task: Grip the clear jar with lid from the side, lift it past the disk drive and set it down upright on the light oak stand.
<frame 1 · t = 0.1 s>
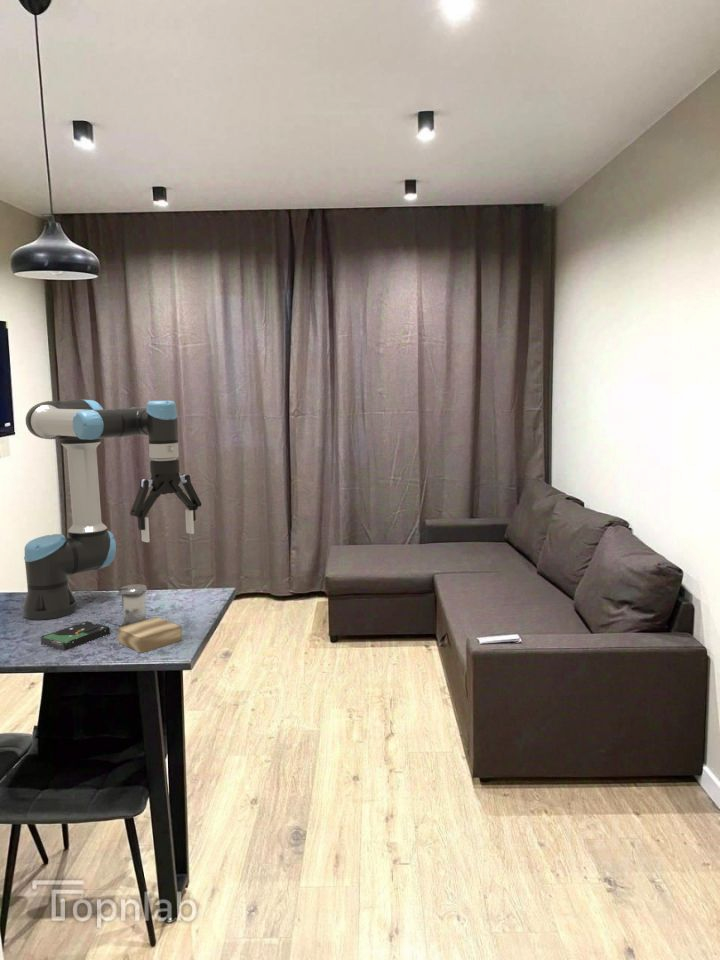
hand: (168, 537, 193), 28 cm above the table, tool pointing down, fingers open, 13 cm apart
disk drive: (76, 641, 197), on the table
stand: (150, 641, 194), on the table
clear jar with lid: (135, 623, 209), on the table
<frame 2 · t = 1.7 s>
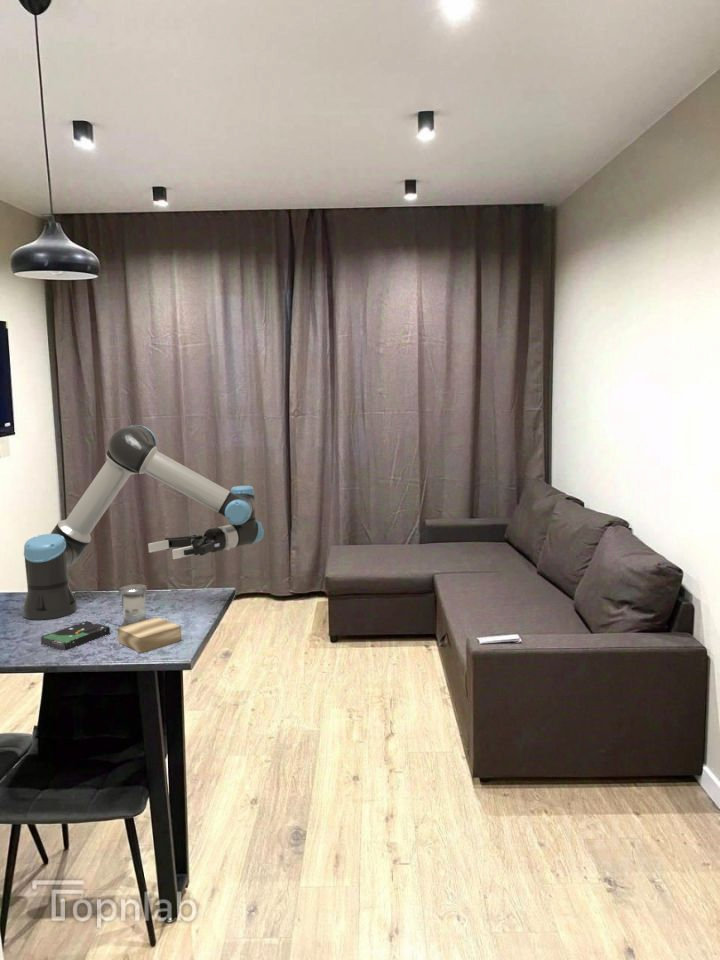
hand: (160, 551, 213), 20 cm above the table, tool horizontal, fingers open, 13 cm apart
nothing on the table moved.
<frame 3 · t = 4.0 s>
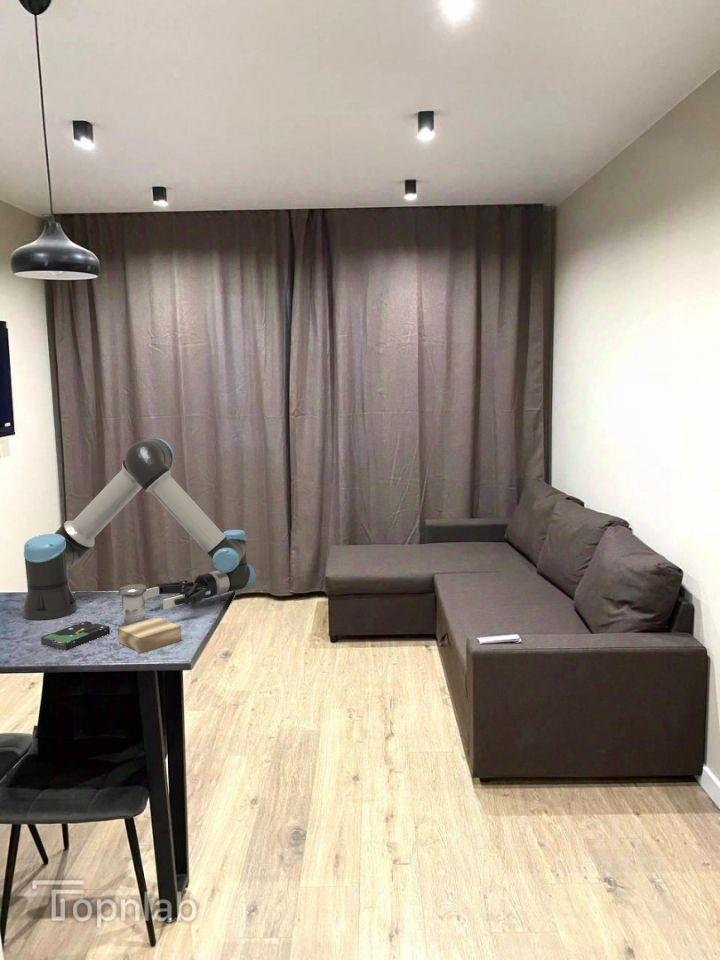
hand: (151, 600, 212), 6 cm above the table, tool horizontal, fingers open, 13 cm apart
nothing on the table moved.
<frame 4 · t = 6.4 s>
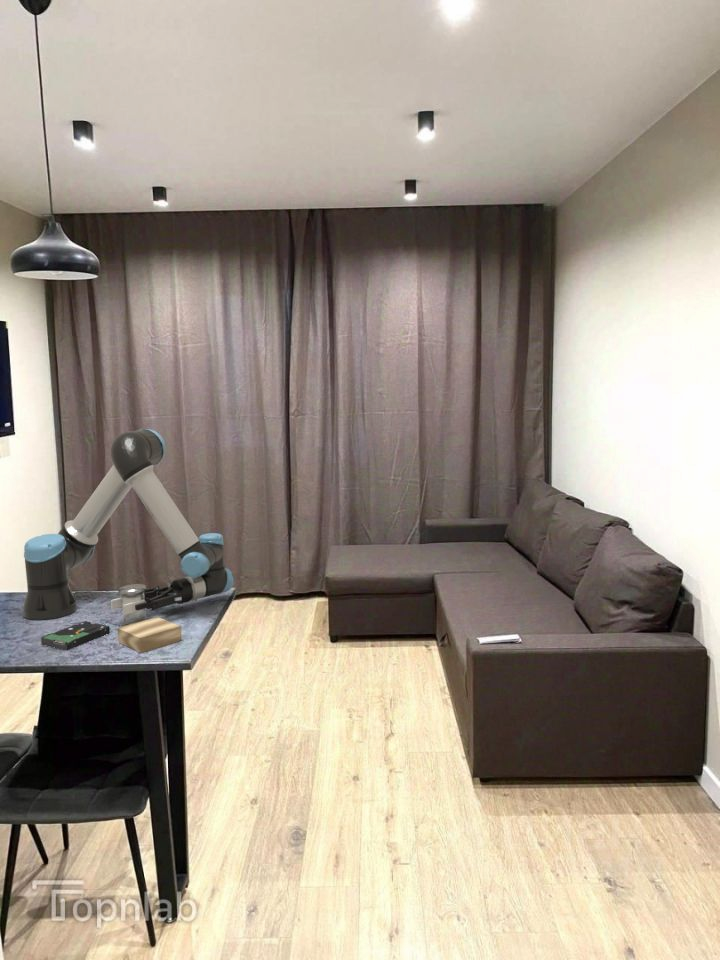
hand: (117, 607, 205), 6 cm above the table, tool horizontal, fingers closed on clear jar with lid, 6 cm apart
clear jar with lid: (135, 622, 209), on the table, touching gripper
everything else where it was.
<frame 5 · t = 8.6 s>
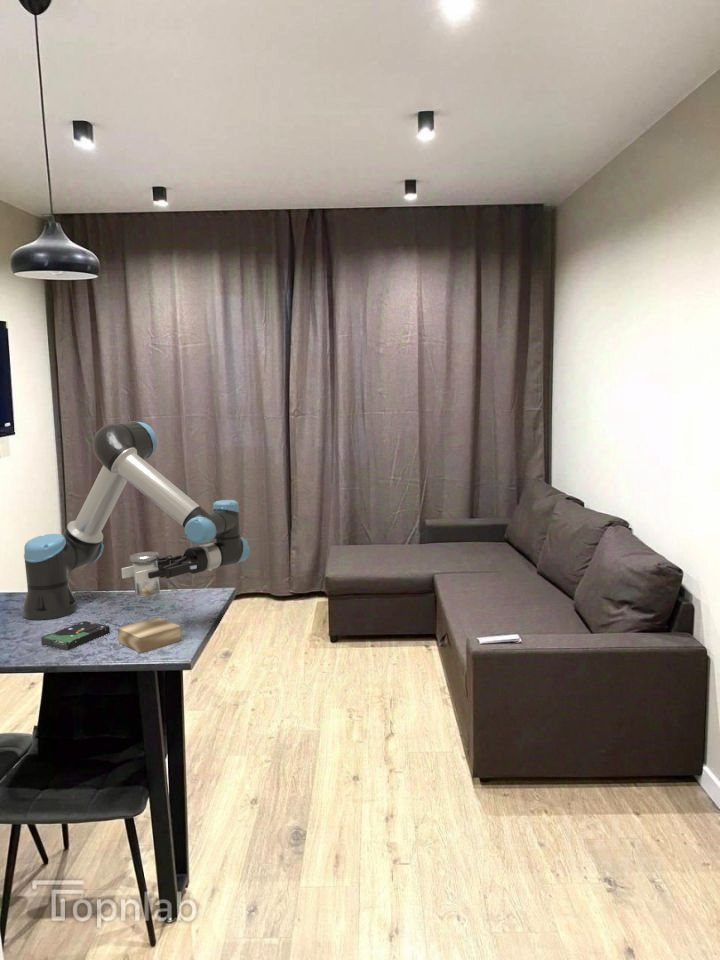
hand: (129, 575, 191), 18 cm above the table, tool horizontal, fingers closed on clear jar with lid, 6 cm apart
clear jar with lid: (147, 592, 196), point 12 cm above the table, touching gripper
everything else where it was.
when the fingers open (11 cm above the table, at t = 10.8 s): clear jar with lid drops 1 cm, resting on stand.
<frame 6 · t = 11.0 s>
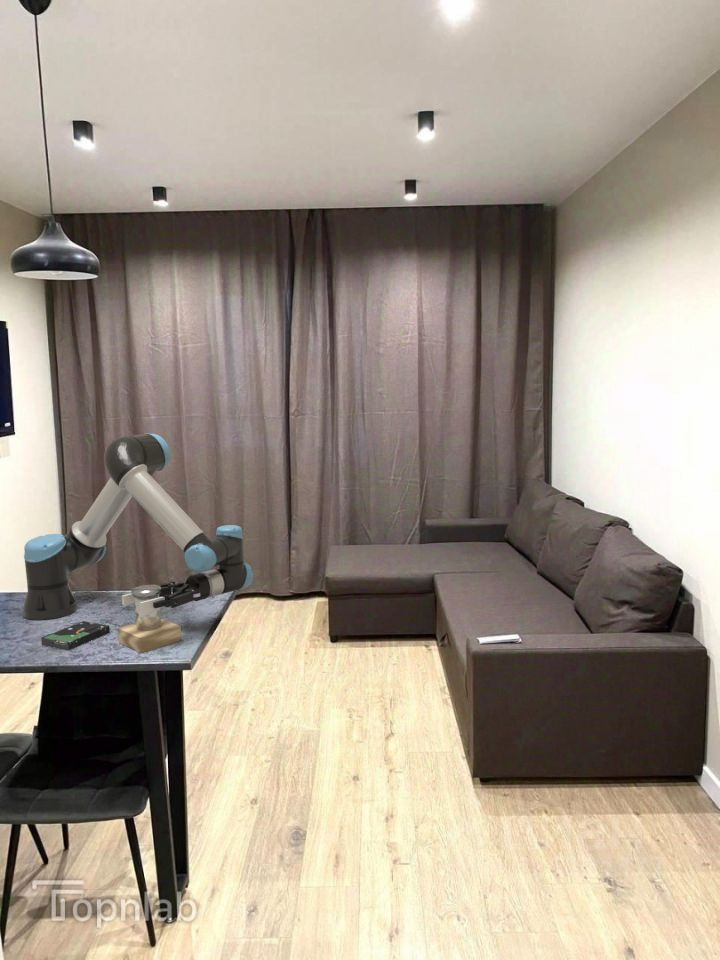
hand: (131, 604, 189), 11 cm above the table, tool horizontal, fingers open, 9 cm apart
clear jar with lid: (149, 626, 193), point 4 cm above the table, touching stand
everything else where it was.
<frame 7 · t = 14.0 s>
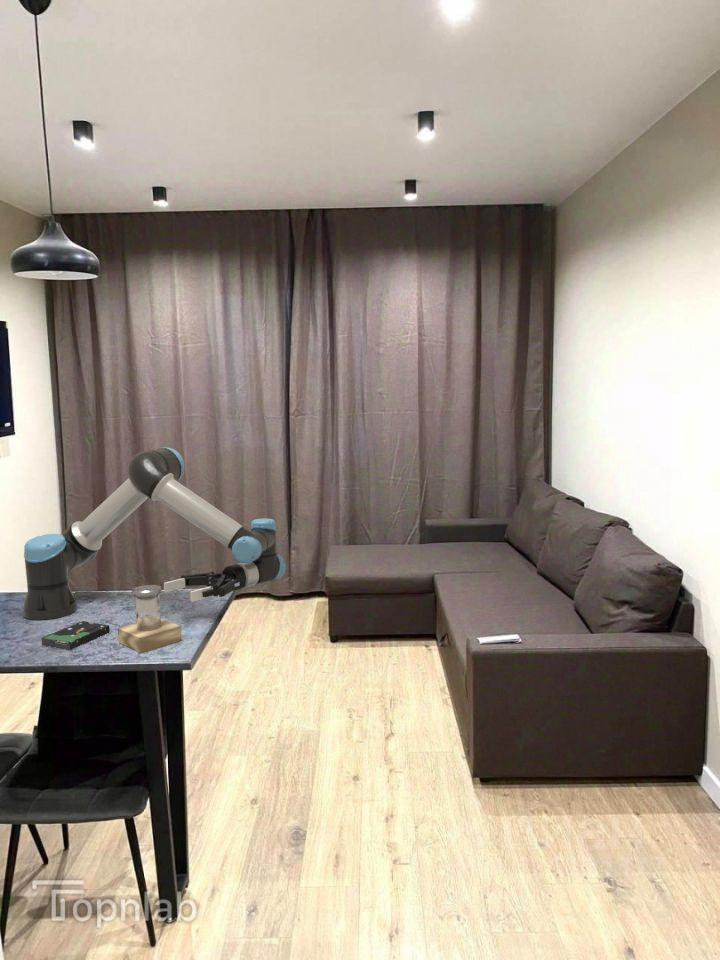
hand: (177, 592, 199), 12 cm above the table, tool horizontal, fingers open, 13 cm apart
nothing on the table moved.
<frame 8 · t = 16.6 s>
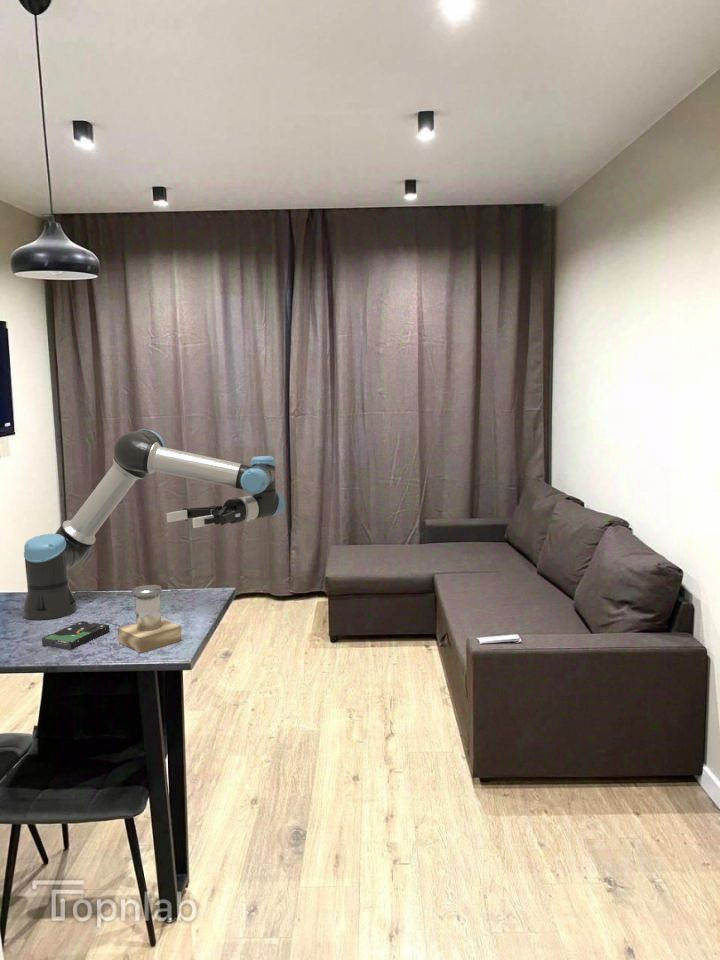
hand: (180, 520, 206), 30 cm above the table, tool horizontal, fingers open, 13 cm apart
nothing on the table moved.
at the end: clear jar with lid inside the target area on the stand (0.1 cm from its centre), point 4.0 cm above the stand's base; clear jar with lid tilted 0°; the gripper is holding nothing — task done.
